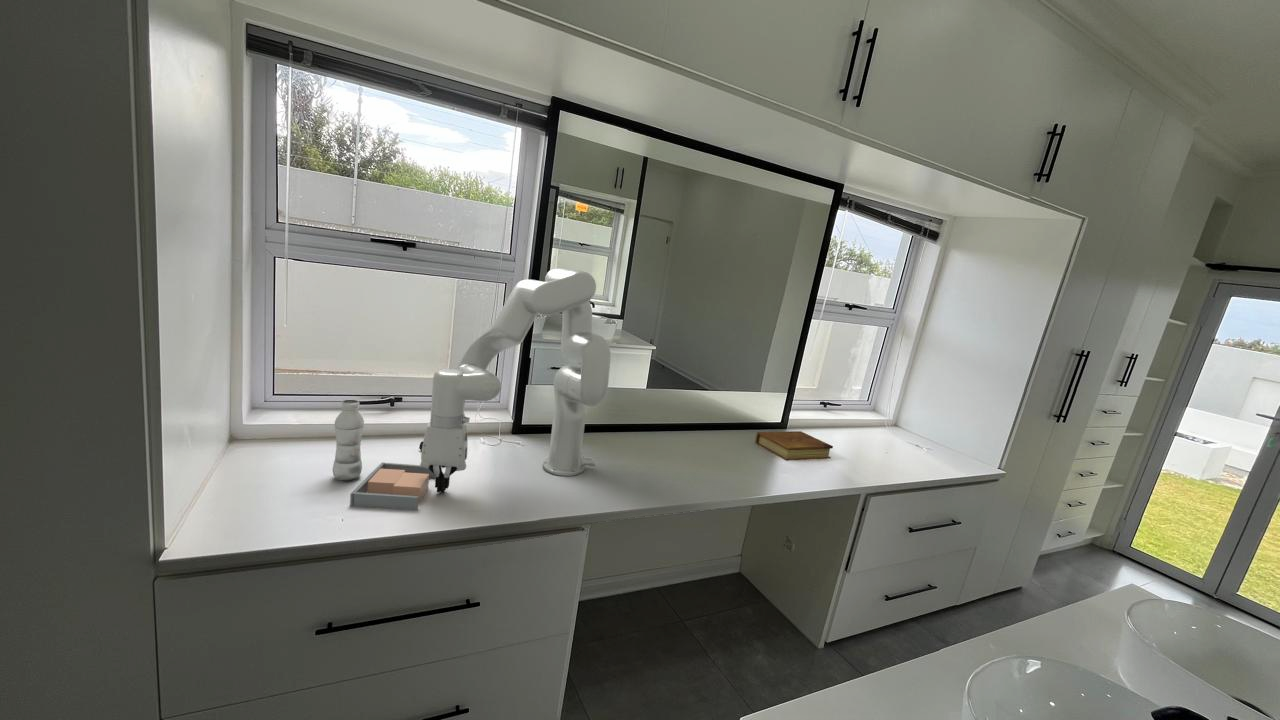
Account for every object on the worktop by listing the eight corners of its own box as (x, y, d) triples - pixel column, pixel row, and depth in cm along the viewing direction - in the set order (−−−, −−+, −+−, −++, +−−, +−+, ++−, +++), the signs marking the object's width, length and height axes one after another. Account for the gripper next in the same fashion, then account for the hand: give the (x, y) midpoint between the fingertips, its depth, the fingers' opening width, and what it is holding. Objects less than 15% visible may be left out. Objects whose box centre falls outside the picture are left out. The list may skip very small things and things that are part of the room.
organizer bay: (438, 477, 131) (439, 466, 130) (416, 509, 113) (417, 497, 112) (381, 473, 128) (381, 462, 128) (349, 505, 111) (350, 493, 110)
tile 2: (428, 488, 124) (429, 473, 124) (419, 503, 116) (420, 487, 116) (403, 487, 123) (404, 472, 122) (392, 501, 115) (393, 485, 115)
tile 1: (404, 484, 124) (405, 470, 124) (394, 499, 117) (395, 483, 116) (379, 483, 123) (380, 468, 123) (367, 497, 116) (367, 481, 115)
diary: (797, 443, 210) (799, 430, 210) (830, 460, 194) (833, 446, 193) (754, 444, 200) (757, 430, 200) (785, 461, 184) (788, 447, 183)
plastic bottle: (330, 484, 119) (333, 405, 116) (333, 473, 125) (336, 397, 122) (361, 482, 122) (365, 405, 119) (362, 471, 128) (365, 398, 125)
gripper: (481, 418, 124) (475, 486, 127) (419, 412, 122) (415, 481, 125) (475, 427, 117) (469, 499, 119) (409, 421, 114) (405, 494, 117)
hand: (441, 490), depth 122 cm, fingers closed
